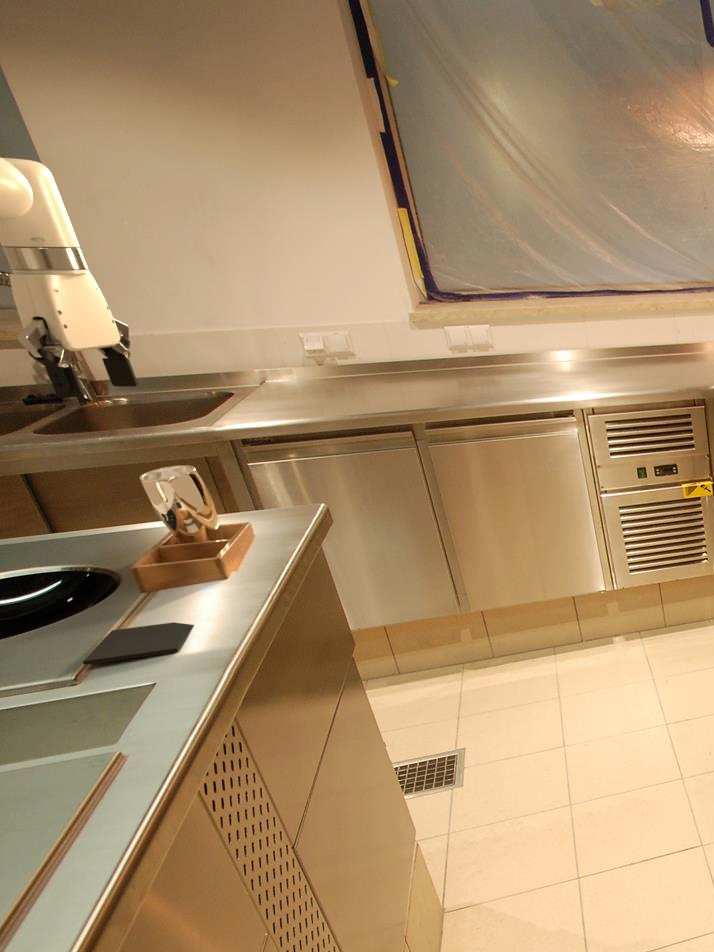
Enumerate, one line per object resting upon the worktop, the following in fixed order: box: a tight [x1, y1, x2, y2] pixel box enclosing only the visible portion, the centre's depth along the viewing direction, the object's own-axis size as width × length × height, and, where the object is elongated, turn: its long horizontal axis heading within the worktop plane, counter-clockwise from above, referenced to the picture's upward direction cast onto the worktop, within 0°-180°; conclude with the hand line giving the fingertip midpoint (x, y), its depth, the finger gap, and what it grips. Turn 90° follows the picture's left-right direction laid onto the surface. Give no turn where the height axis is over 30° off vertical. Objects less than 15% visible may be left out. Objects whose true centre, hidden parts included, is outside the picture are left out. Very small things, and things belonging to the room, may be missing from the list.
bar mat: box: [82, 621, 195, 666], centre depth 108 cm, size 9×10×1 cm
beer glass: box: [139, 464, 225, 544], centre depth 129 cm, size 7×7×15 cm
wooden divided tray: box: [130, 521, 256, 594], centre depth 129 cm, size 10×19×5 cm, turn 27°
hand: (99, 391), depth 121 cm, fingers open, 9 cm apart
